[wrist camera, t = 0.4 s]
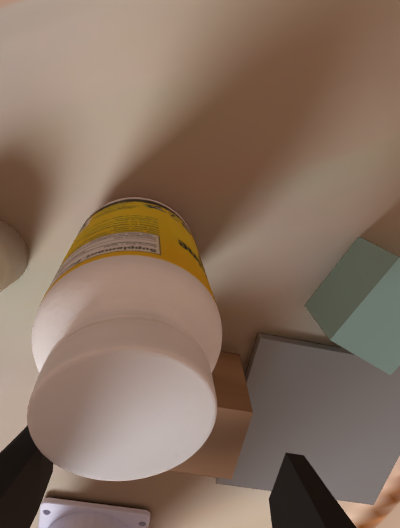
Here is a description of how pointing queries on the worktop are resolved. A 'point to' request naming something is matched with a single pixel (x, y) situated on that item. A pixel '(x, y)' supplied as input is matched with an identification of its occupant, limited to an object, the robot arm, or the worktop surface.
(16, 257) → the white egg
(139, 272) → the pill bottle
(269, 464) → the slate coaster
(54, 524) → the robot arm
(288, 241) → the worktop surface
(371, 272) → the teal block
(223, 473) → the walnut block
